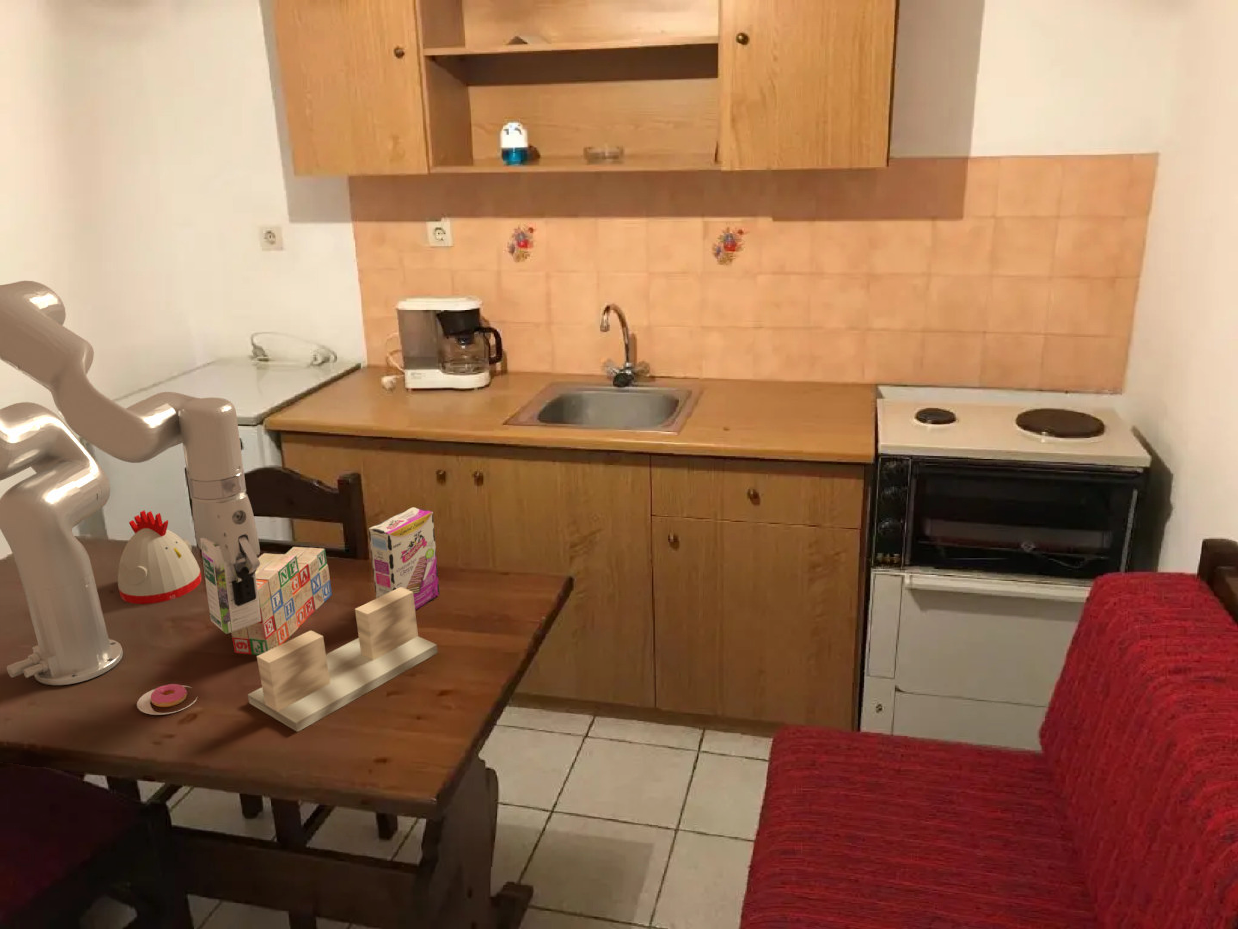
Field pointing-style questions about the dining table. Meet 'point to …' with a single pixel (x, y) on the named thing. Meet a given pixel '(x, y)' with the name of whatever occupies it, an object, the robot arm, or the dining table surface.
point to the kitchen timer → (156, 563)
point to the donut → (163, 698)
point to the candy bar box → (405, 555)
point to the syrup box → (226, 592)
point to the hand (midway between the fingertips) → (232, 594)
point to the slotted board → (340, 663)
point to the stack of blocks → (285, 597)
